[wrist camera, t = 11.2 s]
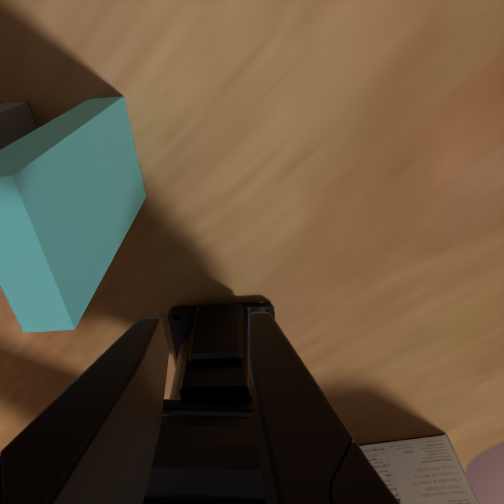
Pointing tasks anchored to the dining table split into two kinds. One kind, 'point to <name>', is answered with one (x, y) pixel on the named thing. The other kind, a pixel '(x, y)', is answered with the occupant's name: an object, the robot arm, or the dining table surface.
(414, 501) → the light bulb box
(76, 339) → the dining table surface
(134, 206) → the teal domino
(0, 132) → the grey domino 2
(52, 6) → the dining table surface
